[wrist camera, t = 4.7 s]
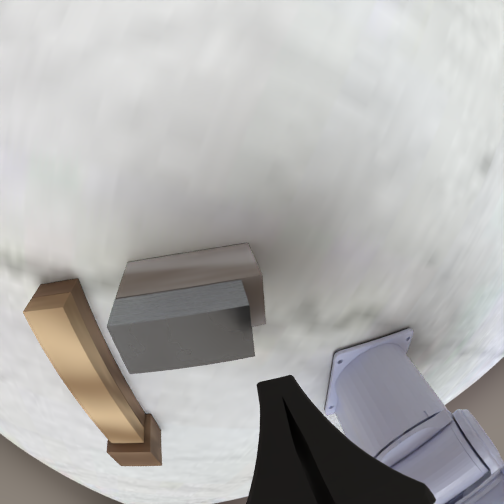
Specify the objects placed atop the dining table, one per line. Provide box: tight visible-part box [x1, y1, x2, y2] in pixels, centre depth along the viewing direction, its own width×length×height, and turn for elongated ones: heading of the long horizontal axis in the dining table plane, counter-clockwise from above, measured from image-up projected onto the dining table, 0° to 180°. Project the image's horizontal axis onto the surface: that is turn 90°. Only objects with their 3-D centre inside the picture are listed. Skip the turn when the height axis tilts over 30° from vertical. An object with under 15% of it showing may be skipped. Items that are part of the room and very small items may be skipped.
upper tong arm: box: [23, 292, 144, 443], centre depth 17 cm, size 14×3×2 cm, turn 5°
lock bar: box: [107, 280, 255, 374], centre depth 13 cm, size 3×6×2 cm, turn 95°
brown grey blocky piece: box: [32, 243, 266, 466], centre depth 18 cm, size 18×14×4 cm
